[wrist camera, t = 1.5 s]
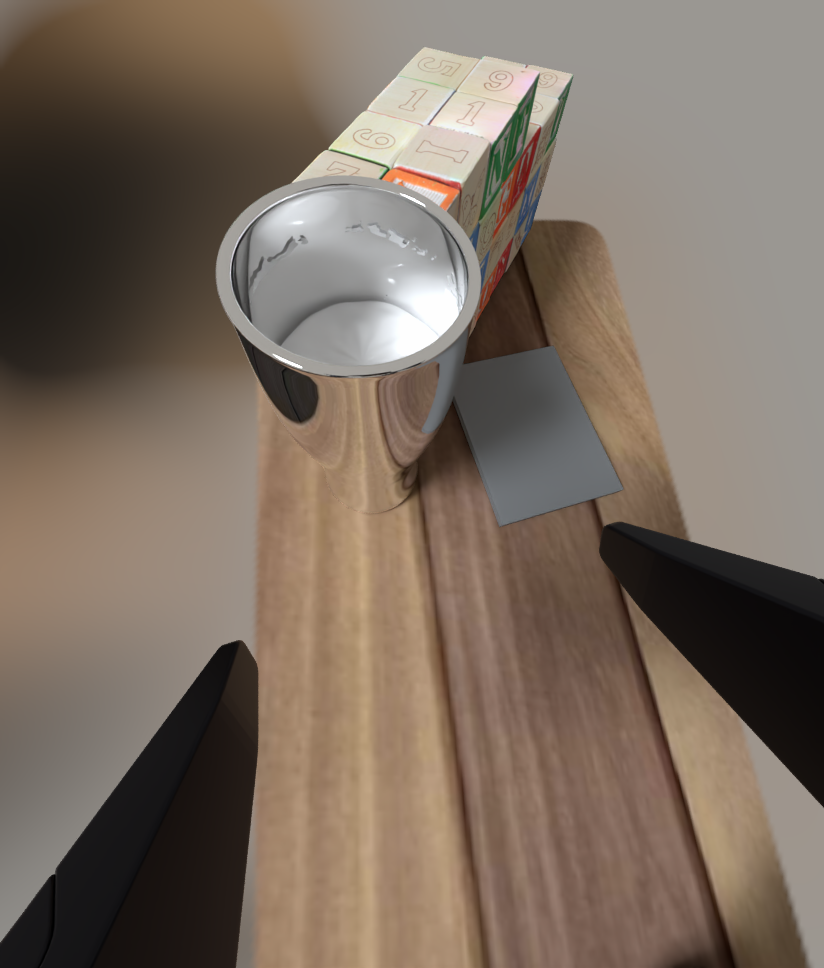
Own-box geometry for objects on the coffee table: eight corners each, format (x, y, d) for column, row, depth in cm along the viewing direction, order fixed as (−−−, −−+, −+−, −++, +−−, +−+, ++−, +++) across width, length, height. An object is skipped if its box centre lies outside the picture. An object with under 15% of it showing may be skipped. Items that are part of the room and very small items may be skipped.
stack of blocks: (466, 209, 31) (494, -29, 19) (531, 230, 30) (603, -10, 18) (344, 385, 24) (278, 184, 13) (421, 420, 23) (425, 233, 12)
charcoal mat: (617, 491, 24) (623, 489, 23) (499, 526, 22) (502, 525, 22) (550, 350, 27) (553, 345, 26) (442, 373, 25) (444, 368, 25)
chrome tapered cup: (444, 476, 23) (545, 287, 9) (363, 543, 21) (324, 444, 7) (378, 404, 24) (372, 137, 10) (296, 462, 22) (147, 238, 8)
